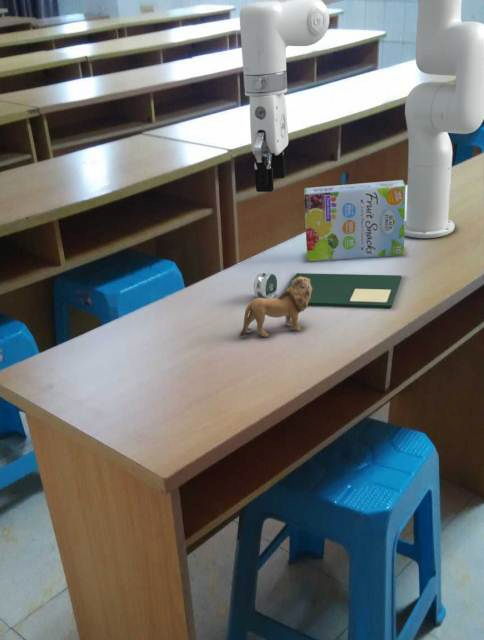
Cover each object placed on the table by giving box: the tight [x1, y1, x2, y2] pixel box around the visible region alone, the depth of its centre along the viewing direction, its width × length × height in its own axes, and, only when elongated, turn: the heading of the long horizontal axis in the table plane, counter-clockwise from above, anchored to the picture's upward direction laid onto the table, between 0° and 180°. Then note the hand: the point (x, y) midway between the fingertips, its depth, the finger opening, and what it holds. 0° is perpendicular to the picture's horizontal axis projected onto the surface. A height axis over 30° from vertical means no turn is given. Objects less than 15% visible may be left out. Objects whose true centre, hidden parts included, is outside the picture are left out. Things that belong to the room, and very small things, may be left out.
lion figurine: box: [238, 277, 312, 338], centre depth 129 cm, size 15×5×9 cm, turn 110°
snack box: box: [303, 179, 407, 262], centre depth 156 cm, size 21×6×15 cm, turn 84°
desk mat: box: [283, 272, 402, 309], centre depth 144 cm, size 15×22×1 cm
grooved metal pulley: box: [253, 272, 278, 299], centre depth 144 cm, size 5×3×5 cm, turn 150°
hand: (271, 184), depth 135 cm, fingers open, 9 cm apart
